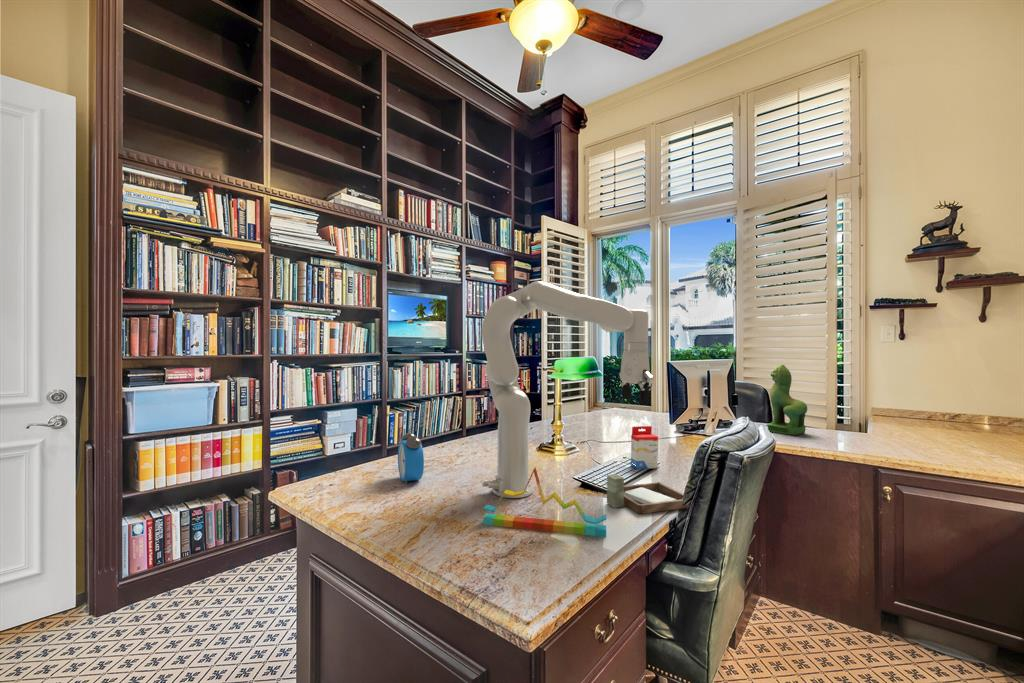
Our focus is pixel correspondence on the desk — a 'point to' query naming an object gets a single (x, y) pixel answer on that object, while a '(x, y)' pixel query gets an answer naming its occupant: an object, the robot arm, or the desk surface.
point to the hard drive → (646, 496)
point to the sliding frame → (620, 500)
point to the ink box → (644, 448)
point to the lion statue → (785, 405)
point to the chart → (544, 523)
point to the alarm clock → (410, 458)
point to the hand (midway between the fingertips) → (635, 400)
